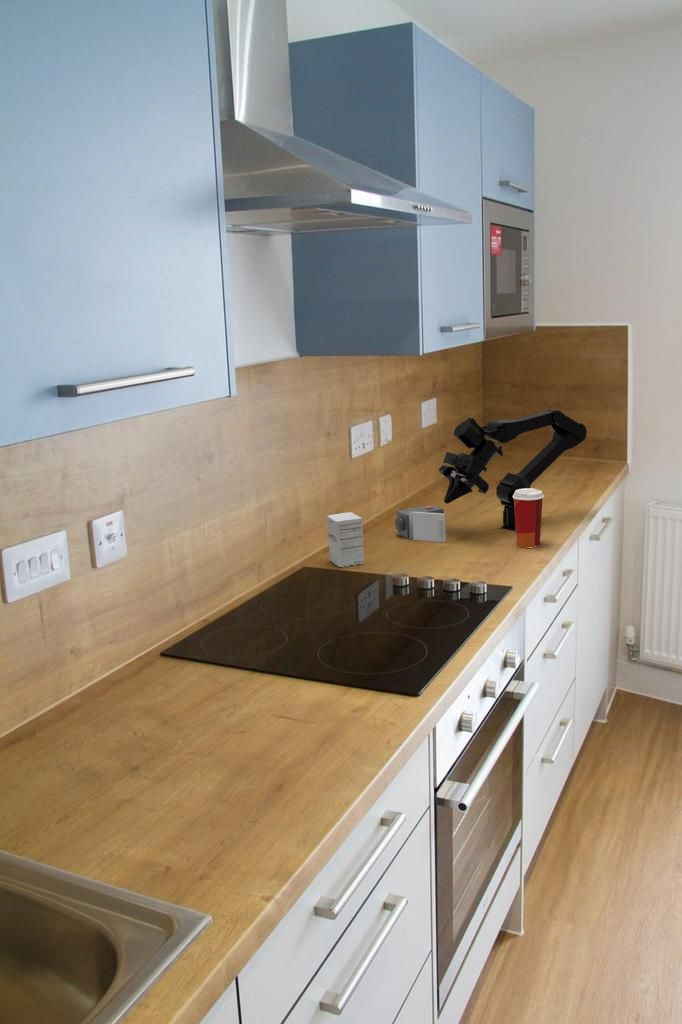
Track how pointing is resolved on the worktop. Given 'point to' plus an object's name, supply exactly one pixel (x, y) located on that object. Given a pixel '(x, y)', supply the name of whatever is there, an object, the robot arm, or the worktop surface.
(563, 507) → the worktop surface
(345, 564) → the supplement box
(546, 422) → the robot arm
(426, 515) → the side door
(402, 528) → the box
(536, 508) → the coffee cup
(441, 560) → the worktop surface
